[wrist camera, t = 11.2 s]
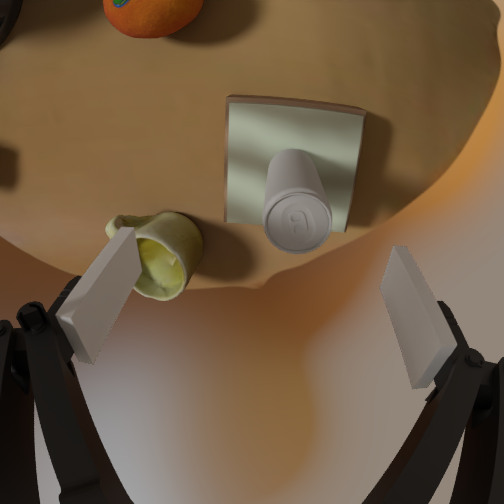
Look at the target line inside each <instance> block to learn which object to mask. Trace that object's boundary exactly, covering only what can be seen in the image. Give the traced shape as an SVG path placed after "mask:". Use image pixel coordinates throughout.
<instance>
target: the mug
mask: <svg viewBox="0 0 504 504" xmlns="http://www.w3.org/2000/svg"><path fill="white" fill-rule="evenodd" d="M121 227H134V229H135V235H136V241H137V246H138V252H139V257H140V262H141V267H142V272H141V274H140V276H139V278H138V280H137V281H136V283H135V285H134V287H133V288H134V289H135V290H136V291H137V292H138V293H140V294H142V295H143V296H145V297H150V298H154V299H157V300H162V301H164V300H165V301H167V300H170V299H173V298H175V297H176V296H178V295H179V294H181V293H182V292H183V291H184V289H185V288H186V286H187V284H188V283H189V281H190V279H191V277H192V275H193V273H194V271H195V268H196V266H197V264H198V262H199V261H200V259H201V257H202V254H203V247H204V245H203V238H202V235H201V232H200V230H199V228H198V227H197V226H196V225H195V224H194V223H193V222H192V221H191V220H190V219H188V218H187V217H185V216H183V215H181V214H179V213H175V212H164V213H161V214H157V215H154V216H144V217H136V216H130V215H128V216H123V215H118V216H116V217H114V218H113V219H111V220H110V221H109V223H108V224H107V226H106V233H107V235H108V237H109V238H110V239H112V238H113V236H114V235H115V234H116V233H117V231H118V230H119V229H120V228H121Z"/></svg>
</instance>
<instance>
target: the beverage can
mask: <svg viewBox="0 0 504 504" xmlns="http://www.w3.org/2000/svg"><path fill="white" fill-rule="evenodd" d="M262 220H263V226H264V229H265V233H266V235H267V237H268V239H269V240H270V242H271V243H272V244H273V245H274V246H275V247H277V248H278V249H280V250H282V251H285V252H287V253H293V254H303V253H307V252H311V251H313V250H315V249H317V248H318V247H320V246H321V245H322V244H323V243H324V242H325V241H326V240H327V238H328V236H329V235H330V232H331V228H332V211H331V208H330V205H329V202H328V199H327V196H326V194H325V191H324V189H323V186H322V183H321V180H320V178H319V175H318V172H317V170H316V167H315V165H314V163H313V161H312V160H311V158H310V157H309V156H308V155H307V154H306V153H305V152H303V151H301V150H299V149H293V148H292V149H285V150H282V151H280V152H278V153H277V154H276V155H275V156H274V157H273V158H272V160H271V162H270V164H269V168H268V175H267V183H266V190H265V198H264V208H263V217H262Z"/></svg>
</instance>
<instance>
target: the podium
mask: <svg viewBox="0 0 504 504" xmlns="http://www.w3.org/2000/svg"><path fill="white" fill-rule="evenodd" d="M365 119H366V111H365V110H363V109H361V108H359V107H355V106H349V105H343V104H336V103H329V102H322V101H313V100H305V99H295V98H284V97H271V96H255V95H230V96H227V97H226V117H225V162H224V222H229V223H242V224H255V225H263V220H262V217H263V208H264V198H265V190H266V183H267V175H268V168H269V164H270V162H271V160H272V158H273V157H274V156H275V155H276V154H277V153H278V152H280V151H282V150H285V149H292V148H293V149H299V150H301V151H303V152H305V153H306V154H307V155H308V156H309V157H310V158H311V160H312V161H313V163H314V165H315V167H316V170H317V172H318V175H319V178H320V180H321V183H322V186H323V189H324V191H325V194H326V196H327V199H328V202H329V205H330V208H331V211H332V228H331V231H335V232H346V229H347V224H348V220H349V215H350V210H351V205H352V199H353V194H354V189H355V183H356V177H357V172H358V166H359V160H360V153H361V147H362V140H363V134H364V126H365Z"/></svg>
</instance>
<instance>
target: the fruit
mask: <svg viewBox="0 0 504 504" xmlns="http://www.w3.org/2000/svg"><path fill="white" fill-rule="evenodd" d="M203 2H204V0H103V6H104V12H105V15H106V17H107V18H108V20H109V21H110V22H111V24H112V25H113V26H114V27H115V28H116V29H117V30H119V31H120V32H121V33H123V34H125V35H127V36H130V37H134V38H160V37H164V36H167V35H169V34H172V33H174V32H176V31H178V30H180V29H181V28H183V27H184V26H186V25H187V24H189V23H190V22H191V21H192V20H193V19H194V18H195V17H196V16H197V15H198V13H199V12H200V10H201V8H202V5H203Z"/></svg>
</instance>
